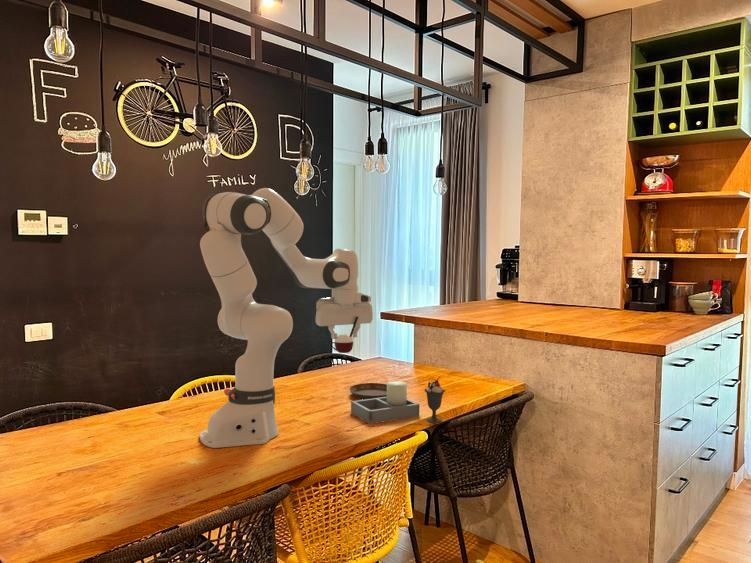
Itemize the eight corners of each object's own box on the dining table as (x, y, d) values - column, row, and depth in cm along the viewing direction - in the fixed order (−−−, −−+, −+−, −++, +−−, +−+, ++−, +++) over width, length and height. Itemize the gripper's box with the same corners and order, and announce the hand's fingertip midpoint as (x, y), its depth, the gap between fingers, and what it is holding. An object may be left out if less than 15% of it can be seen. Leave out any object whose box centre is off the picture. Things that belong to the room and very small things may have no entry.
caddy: (369, 423, 178) (369, 392, 178) (351, 413, 190) (351, 383, 189) (419, 416, 187) (419, 386, 187) (398, 406, 199) (399, 378, 198)
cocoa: (328, 353, 190) (326, 318, 190) (340, 350, 195) (337, 316, 195) (351, 354, 185) (349, 318, 184) (362, 351, 190) (360, 316, 190)
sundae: (443, 424, 179) (444, 378, 178) (422, 423, 180) (423, 376, 179) (445, 418, 185) (446, 373, 184) (425, 417, 186) (426, 372, 186)
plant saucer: (386, 405, 201) (386, 396, 201) (341, 399, 208) (341, 391, 207) (402, 393, 217) (402, 385, 217) (360, 388, 224) (360, 381, 224)
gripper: (320, 299, 181) (320, 341, 182) (375, 297, 191) (374, 337, 192) (312, 297, 186) (312, 338, 187) (366, 295, 197) (365, 334, 197)
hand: (344, 337), depth 190 cm, fingers closed on cocoa, 6 cm apart
